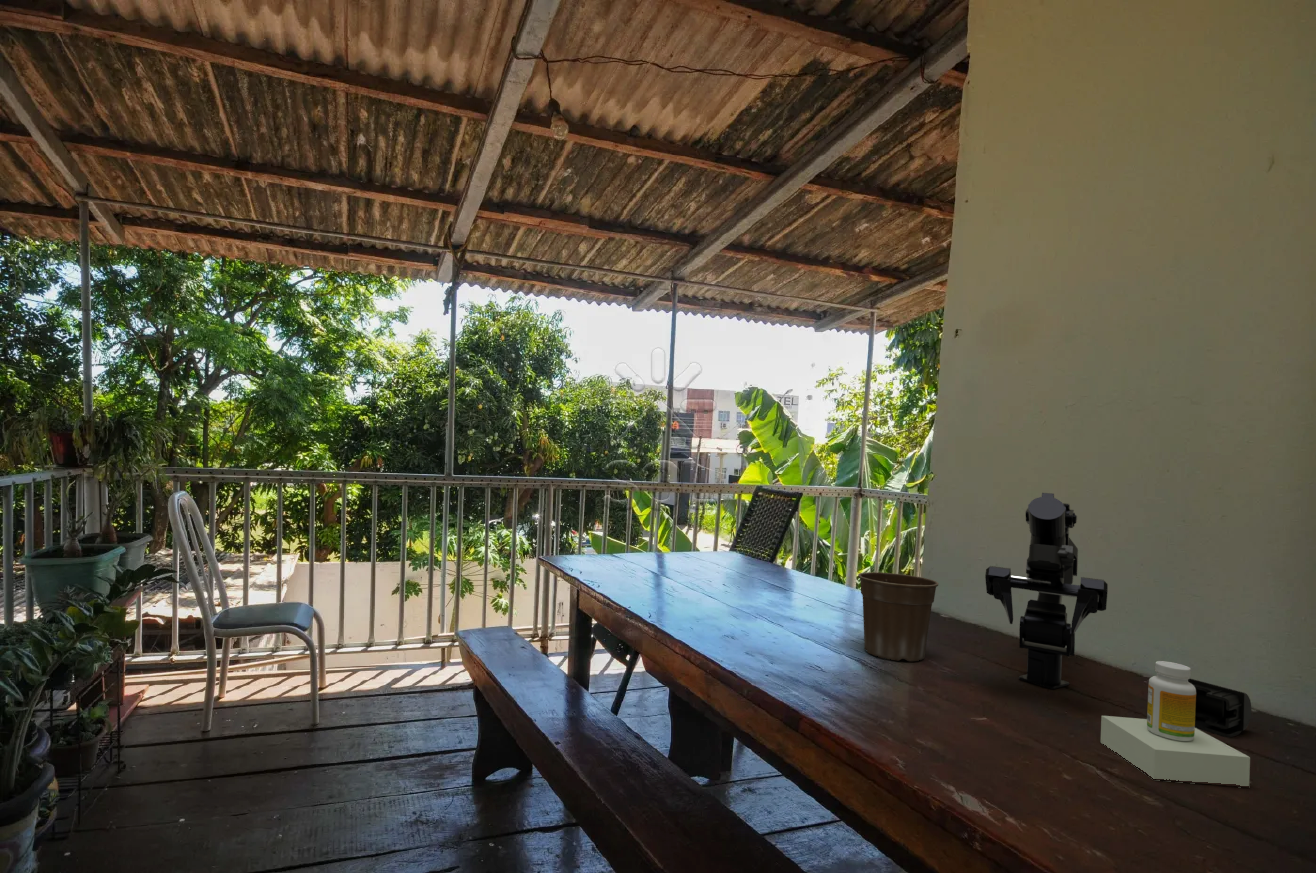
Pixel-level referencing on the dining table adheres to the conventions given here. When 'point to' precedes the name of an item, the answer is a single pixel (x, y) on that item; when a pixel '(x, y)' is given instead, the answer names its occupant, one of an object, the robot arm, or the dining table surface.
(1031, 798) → the dining table surface
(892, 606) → the plant pot
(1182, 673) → the supplement bottle
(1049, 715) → the dining table surface
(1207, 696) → the end cap
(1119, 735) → the plinth
